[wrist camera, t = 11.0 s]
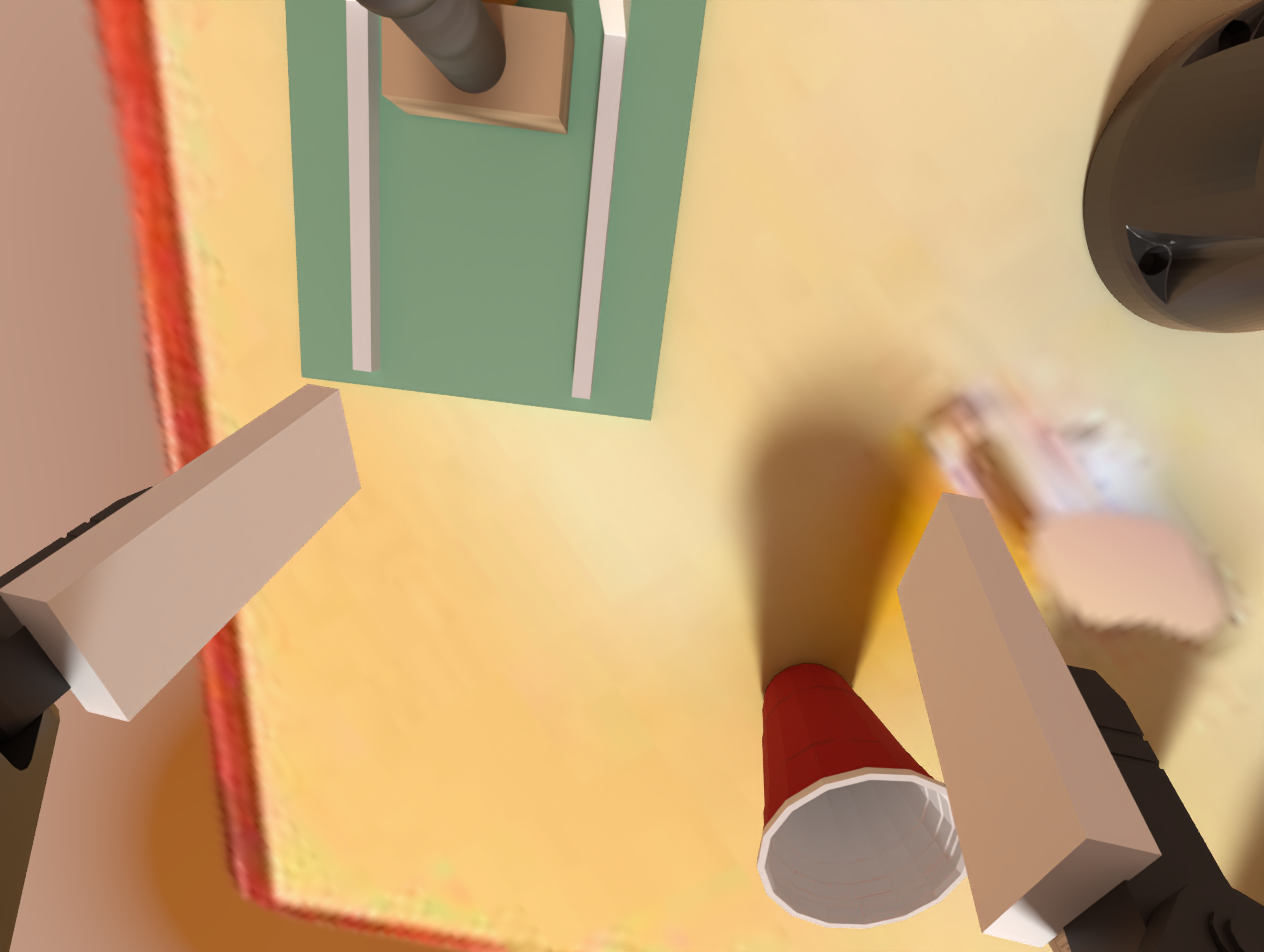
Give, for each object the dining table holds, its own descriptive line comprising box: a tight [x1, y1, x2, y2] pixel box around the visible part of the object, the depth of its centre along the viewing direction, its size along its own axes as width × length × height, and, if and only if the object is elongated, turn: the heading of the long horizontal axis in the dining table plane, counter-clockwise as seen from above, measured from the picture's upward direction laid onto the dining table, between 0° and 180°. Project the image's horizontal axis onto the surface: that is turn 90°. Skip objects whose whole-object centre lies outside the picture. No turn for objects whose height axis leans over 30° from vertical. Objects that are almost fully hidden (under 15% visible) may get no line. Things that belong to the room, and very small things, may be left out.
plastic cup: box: [757, 663, 967, 929], centre depth 34 cm, size 11×11×12 cm
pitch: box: [285, 0, 706, 420], centre depth 30 cm, size 20×26×2 cm
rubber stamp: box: [356, 0, 575, 134], centre depth 23 cm, size 8×4×12 cm, turn 83°
